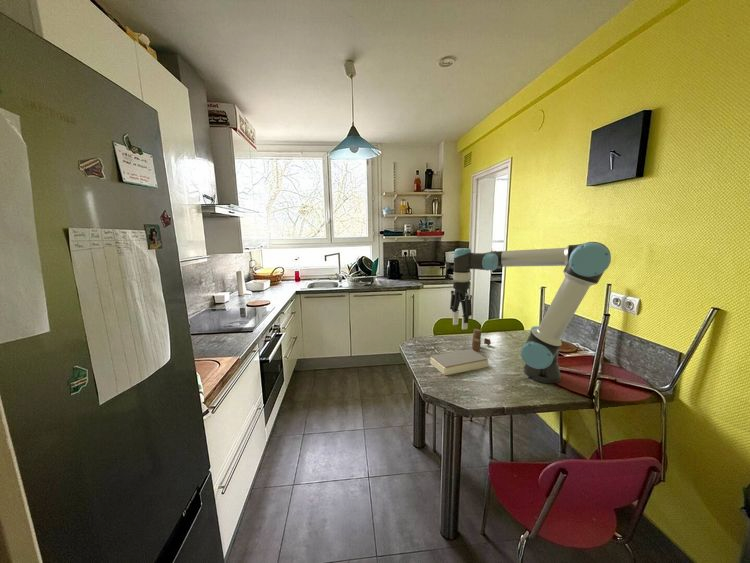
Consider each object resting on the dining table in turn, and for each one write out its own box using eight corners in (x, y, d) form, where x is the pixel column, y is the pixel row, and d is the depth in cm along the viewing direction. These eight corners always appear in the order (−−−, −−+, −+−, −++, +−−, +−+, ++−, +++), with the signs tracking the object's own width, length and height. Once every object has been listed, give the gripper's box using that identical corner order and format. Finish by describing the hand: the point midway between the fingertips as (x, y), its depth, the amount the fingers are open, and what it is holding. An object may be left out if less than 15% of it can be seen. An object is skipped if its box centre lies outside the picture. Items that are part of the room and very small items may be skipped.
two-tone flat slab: (488, 366, 145) (488, 359, 144) (444, 375, 137) (445, 367, 137) (470, 356, 158) (471, 349, 157) (430, 363, 150) (430, 356, 149)
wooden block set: (480, 356, 157) (483, 338, 155) (465, 351, 162) (467, 334, 160) (490, 346, 172) (492, 329, 170) (475, 342, 177) (477, 326, 175)
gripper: (481, 283, 133) (479, 331, 137) (456, 277, 151) (454, 320, 155) (467, 284, 130) (465, 334, 134) (443, 278, 149) (442, 321, 153)
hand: (459, 326), depth 145 cm, fingers open, 7 cm apart
